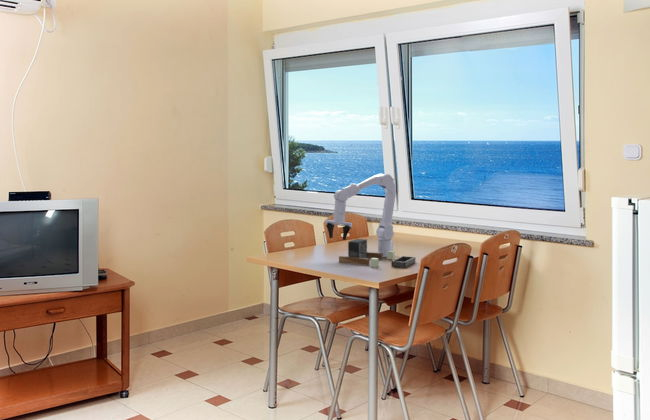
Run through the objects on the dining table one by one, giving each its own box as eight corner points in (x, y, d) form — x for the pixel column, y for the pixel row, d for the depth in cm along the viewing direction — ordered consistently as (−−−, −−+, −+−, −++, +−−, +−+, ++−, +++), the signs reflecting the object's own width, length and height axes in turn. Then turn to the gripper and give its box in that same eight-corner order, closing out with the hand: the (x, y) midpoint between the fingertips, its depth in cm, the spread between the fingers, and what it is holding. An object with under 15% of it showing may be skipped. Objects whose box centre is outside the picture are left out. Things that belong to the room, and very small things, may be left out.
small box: (356, 258, 333) (356, 238, 332) (367, 259, 330) (367, 239, 329) (347, 261, 323) (347, 241, 322) (359, 262, 320) (359, 242, 319)
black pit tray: (402, 261, 324) (402, 256, 324) (415, 262, 321) (415, 257, 321) (391, 266, 310) (391, 261, 310) (405, 268, 307) (405, 262, 307)
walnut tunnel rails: (354, 256, 338) (354, 250, 338) (382, 258, 331) (382, 253, 331) (338, 262, 320) (338, 256, 320) (368, 265, 313) (368, 259, 313)
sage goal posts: (389, 258, 333) (389, 250, 332) (394, 258, 331) (394, 251, 331) (370, 266, 309) (370, 258, 309) (376, 267, 308) (376, 259, 308)
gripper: (323, 211, 328) (321, 237, 329) (349, 215, 322) (347, 241, 323) (329, 211, 334) (327, 236, 336) (354, 214, 328) (352, 240, 329)
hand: (337, 239), depth 330 cm, fingers open, 7 cm apart
